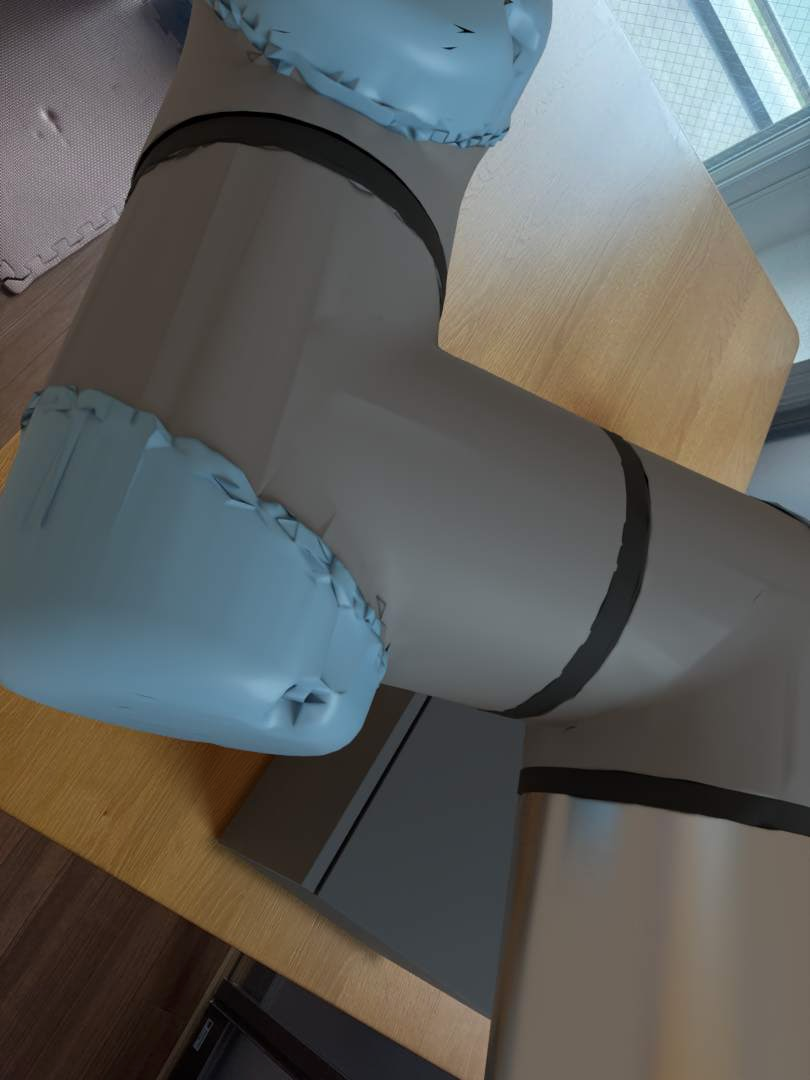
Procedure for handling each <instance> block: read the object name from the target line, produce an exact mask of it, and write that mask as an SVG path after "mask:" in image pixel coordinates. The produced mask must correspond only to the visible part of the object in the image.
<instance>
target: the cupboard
mask: <svg viewBox="0 0 810 1080" xmlns="http://www.w3.org/2000/svg"><path fill="white" fill-rule="evenodd" d="M525 724H526V723H525V722H522V721H519V720H515V719H512V718H508V717H503V716H500V715H497V714H493V713H489V712H485V711H481V710H478V709H476V708H473V707H469V706H466V705H462V704H458V703H455V702H451V701H447V700H444V699H440V698H436V697H433V696H429V695H428V696H427V698H426V700H425V702H424V703H423V705H422V707H421V708H420V710H419V712H418V714H417V715H416V717H415V719H414V720H413V722H412V724H411V726H410V727H409V729H408V731H407V732H406V734H405V736H404V738H403V739H402V741H401V743H400V744H399V746H398V748H397V750H396V751H395V753H394V755H393V756H392V758H391V760H390V762H389V763H388V765H387V767H386V768H385V770H384V772H383V774H382V775H381V777H380V779H379V780H378V782H377V784H376V786H375V787H374V789H373V791H372V793H371V794H370V796H369V798H368V799H367V801H366V803H365V805H364V806H363V808H362V810H361V811H360V813H359V815H358V817H357V818H356V820H355V822H354V823H353V825H352V827H351V829H350V830H349V832H348V834H347V835H346V837H345V839H344V841H343V842H342V844H341V846H340V847H339V849H338V851H337V853H336V854H335V856H334V858H333V859H332V861H331V863H330V865H329V866H328V868H327V870H326V871H325V873H324V875H323V877H322V878H321V880H320V882H319V883H318V885H317V887H316V889H315V890H314V892H313V893H312V892H310V891H308V890H306V889H304V888H302V887H300V886H298V885H296V884H294V883H292V882H290V881H288V880H286V879H284V878H283V877H281V876H279V875H277V874H275V873H273V872H271V871H269V870H267V869H265V868H263V867H261V866H259V865H257V864H255V863H254V862H252V861H250V860H248V859H246V858H244V857H242V856H240V855H238V854H236V853H234V852H232V851H230V850H228V851H229V852H230V853H231V854H233V855H235V856H236V857H238V858H239V859H240V860H242V861H244V862H245V863H246V864H247V865H249V866H250V867H252V868H253V869H255V870H256V871H258V872H259V873H261V874H262V875H263V876H265V877H267V878H268V879H269V880H270V881H272V882H273V883H275V884H277V885H278V886H279V887H281V888H282V889H284V891H287V893H289V894H291V895H292V896H294V897H295V898H297V899H298V900H300V901H301V902H302V903H304V904H305V905H307V907H310V908H311V909H312V910H314V911H315V912H317V913H318V914H319V915H322V916H323V917H324V918H325V919H327V920H328V921H330V922H331V923H332V924H334V925H336V926H337V927H339V929H341V930H342V931H344V932H346V933H347V934H349V935H350V936H352V937H353V938H354V939H356V940H357V941H358V942H360V943H361V944H363V945H364V946H366V947H367V948H368V949H370V950H372V951H373V952H375V953H376V954H378V955H380V956H381V957H383V958H385V959H386V960H388V961H390V962H392V963H393V964H395V965H396V966H398V967H399V968H402V969H403V970H405V971H407V972H408V973H410V974H412V975H413V976H414V977H417V978H418V979H420V980H422V981H423V982H425V983H426V984H429V986H432V987H433V988H435V989H437V990H438V991H440V992H442V993H444V994H445V995H446V996H449V997H450V998H452V999H454V1000H455V1001H457V1002H459V1003H461V1004H462V1005H463V1006H466V1007H467V1008H468V1009H471V1011H474V1012H475V1013H478V1014H480V1015H481V1016H483V1017H484V1018H485V1019H488V1020H489V1021H491V1016H492V1008H493V1000H494V992H495V983H496V975H497V967H498V959H499V951H500V942H501V934H502V926H503V918H504V910H505V901H506V893H507V885H508V877H509V868H510V860H511V852H512V844H513V836H514V827H515V819H516V811H517V803H518V794H517V790H518V782H519V775H520V770H521V769H522V761H523V740H524V734H525Z"/></svg>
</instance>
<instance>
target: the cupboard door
mask: <svg viewBox="0 0 810 1080" xmlns="http://www.w3.org/2000/svg"><path fill="white" fill-rule="evenodd" d="M427 696H428V695H425V694H422V693H418V692H414V691H411V690H407V689H403V688H398V687H394V686H390V685H385V684H381V683H380V684H379V687H378V688H377V689H376V692H375V694H374V697H373V700H372V702H371V705H370V708H369V711H368V713H367V716H366V719H365V721H364V724H363V726H362V728H361V730H360V731H359V733H358V734H357V735H356V736H355V737H354V738H353V740H352V741H351V742H350V743H349V744H347V745H346V746H344V747H343V748H341V749H339V750H337V751H334V752H331V753H328V754H325V755H319V756H287V755H277V754H275V755H274V757H273V759H272V761H270V763H269V765H268V766H267V768H266V769H265V770H264V772H263V773H262V775H261V777H260V778H259V779H258V781H257V782H256V784H255V785H254V787H253V788H252V790H251V791H250V793H249V794H248V796H247V798H246V799H245V800H244V802H243V803H242V805H241V807H240V808H239V809H238V811H237V813H236V814H235V815H234V816H233V818H232V820H231V822H230V823H229V824H228V826H227V828H226V829H224V832H223V833H222V834H221V836H220V838H219V839H218V841H217V843H218V844H219V845H220V846H221V847H223V848H225V849H226V850H228V851H229V850H230V851H232V852H234V853H236V854H238V855H240V856H242V857H244V858H246V859H248V860H250V861H252V862H254V863H255V864H257V865H259V866H261V867H263V868H265V869H267V870H269V871H271V872H273V873H275V874H277V875H279V876H281V877H283V878H284V879H286V880H288V881H290V882H292V883H294V884H296V885H298V886H300V887H302V888H304V889H306V890H308V891H310V892H312V893H313V892H314V890H315V889H316V887H317V885H318V883H319V882H320V880H321V878H322V877H323V875H324V873H325V871H326V870H327V868H328V866H329V865H330V863H331V861H332V859H333V858H334V856H335V854H336V853H337V851H338V849H339V847H340V846H341V844H342V842H343V841H344V839H345V837H346V835H347V834H348V832H349V830H350V829H351V827H352V825H353V823H354V822H355V820H356V818H357V817H358V815H359V813H360V811H361V810H362V808H363V806H364V805H365V803H366V801H367V799H368V798H369V796H370V794H371V793H372V791H373V789H374V787H375V786H376V784H377V782H378V780H379V779H380V777H381V775H382V774H383V772H384V770H385V768H386V767H387V765H388V763H389V762H390V760H391V758H392V756H393V755H394V753H395V751H396V750H397V748H398V746H399V744H400V743H401V741H402V739H403V738H404V736H405V734H406V732H407V731H408V729H409V727H410V726H411V724H412V722H413V720H414V719H415V717H416V715H417V714H418V712H419V710H420V708H421V707H422V705H423V703H424V702H425V700H426V698H427ZM230 851H229V852H230ZM232 852H231V853H232Z"/></svg>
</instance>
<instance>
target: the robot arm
mask: <svg viewBox="0 0 810 1080" xmlns="http://www.w3.org/2000/svg"><path fill="white" fill-rule="evenodd" d="M553 3H554V2H553V0H192V6H191V12H190V16H189V22H188V28H187V32H186V35H185V40H184V44H183V48H182V51H181V55H180V58H179V62H178V65H177V67H176V71H175V73H174V76H173V78H172V80H171V82H170V84H169V86H168V89H167V92H166V94H165V96H164V97H163V98H164V99H163V101H162V102H161V105H160V107H159V110H158V112H157V114H156V117H155V119H154V121H153V123H152V125H151V128H150V130H149V132H148V135H147V137H146V139H145V141H144V144H143V146H142V148H141V151H140V152H139V156H138V158H137V159H136V162H135V165H134V168H133V170H132V175H131V178H130V187H129V190H128V192H127V195H126V198H125V200H124V203H123V204H124V205H123V208H122V211H121V213H120V216H119V217H118V220H117V222H116V224H115V226H114V228H113V231H112V232H111V235H110V238H109V240H108V241H107V244H106V246H105V248H104V250H103V253H102V255H101V257H100V259H99V261H98V264H97V265H96V268H95V270H94V272H93V274H92V276H91V279H90V281H89V284H88V286H87V288H86V290H85V292H84V293H83V294H84V295H83V296H82V299H81V301H80V302H79V305H78V307H77V310H76V311H75V314H74V316H73V319H72V320H71V323H70V325H69V327H68V329H67V332H66V334H65V336H64V338H63V340H62V342H61V345H60V347H59V349H58V352H57V353H56V355H55V358H54V361H53V362H52V364H51V367H50V369H49V371H48V373H47V375H46V377H45V380H44V382H43V384H42V386H41V388H40V390H36V391H34V392H33V393H32V394H31V397H30V399H29V402H28V404H27V406H26V408H25V410H24V412H23V413H22V415H21V420H20V434H19V444H18V447H17V450H16V452H15V456H14V458H13V460H12V463H11V466H10V469H9V472H8V475H7V476H6V477H7V478H6V481H5V483H4V486H3V489H2V491H1V494H0V685H1V686H2V687H3V688H5V689H7V690H8V691H10V692H13V693H14V694H16V695H18V696H21V697H24V698H25V699H28V700H30V701H33V702H35V703H38V704H41V705H43V706H46V707H50V708H52V709H55V710H58V711H61V712H65V713H68V714H72V715H75V716H79V717H82V718H86V719H90V720H93V721H97V722H102V723H105V724H110V725H112V726H113V725H114V726H118V727H122V728H126V729H130V730H135V731H138V732H143V733H147V734H153V735H158V736H163V737H168V738H173V739H178V740H183V741H190V742H199V743H208V744H213V745H215V746H216V745H217V746H220V747H222V748H229V749H234V750H241V751H245V752H253V753H260V754H268V755H269V754H270V755H276V754H277V755H287V756H319V755H325V754H328V753H331V752H334V751H337V750H339V749H341V748H343V747H344V746H346V745H347V744H349V743H350V742H351V741H352V740H353V738H354V737H355V736H356V735H357V734H358V733H359V731H360V730H361V728H362V726H363V724H364V721H365V719H366V716H367V713H368V711H369V708H370V705H371V702H372V700H373V697H374V694H375V692H376V689H377V688H378V687H379V684H380V683H381V684H385V685H390V686H394V687H398V688H403V689H407V690H411V691H414V692H418V693H422V694H425V695H429V696H433V697H436V698H440V699H444V700H447V701H451V702H455V703H458V704H462V705H466V706H469V707H473V708H476V709H478V710H481V711H485V712H489V713H493V714H497V715H500V716H503V717H508V718H512V719H515V720H519V721H522V722H525V723H526V724H525V734H524V740H523V761H522V769H521V770H520V775H519V782H518V790H517V794H518V803H517V811H516V819H515V827H514V836H513V844H512V852H511V860H510V868H509V877H508V885H507V893H506V901H505V910H504V918H503V926H502V934H501V942H500V951H499V959H498V967H497V975H496V983H495V992H494V1000H493V1008H492V1016H491V1020H490V1024H489V1025H490V1026H489V1033H488V1034H489V1035H488V1043H487V1051H486V1059H485V1066H484V1073H483V1080H810V519H808V518H806V517H805V516H803V515H802V514H801V515H800V514H799V513H797V512H795V511H792V510H790V509H788V508H787V507H785V506H782V505H781V504H780V503H778V502H774V501H770V500H764V499H761V498H758V497H755V496H753V495H751V494H749V495H748V494H746V493H743V492H741V491H739V490H737V489H734V488H733V487H730V486H728V485H726V484H724V483H721V482H719V481H717V480H715V479H712V478H710V477H709V476H706V475H705V474H704V475H703V474H702V473H699V472H697V471H696V470H693V469H691V468H688V467H686V466H684V465H681V464H679V463H677V462H675V461H673V460H671V459H668V458H667V457H664V456H662V455H660V454H658V453H656V452H653V451H652V450H648V449H646V448H644V447H642V446H640V445H638V444H636V443H634V442H631V441H629V440H627V439H625V438H624V437H623V436H621V435H619V434H618V433H616V432H615V431H614V432H613V431H611V430H609V429H607V428H604V427H603V426H600V425H598V424H597V423H595V422H592V421H591V420H589V419H587V418H584V417H582V416H580V415H578V414H576V413H574V412H572V411H570V410H568V409H566V408H564V407H562V406H560V405H558V404H556V403H553V402H552V401H550V400H547V399H545V398H543V397H541V396H539V395H537V394H535V393H533V392H531V391H529V390H527V389H524V388H523V387H521V386H519V385H517V384H514V382H513V383H512V382H510V381H508V380H506V379H504V378H502V377H500V376H498V375H496V374H494V373H493V372H490V371H488V370H486V369H484V368H481V367H479V366H478V365H476V364H474V363H471V362H469V361H467V360H465V359H463V358H461V357H459V356H455V355H453V354H451V353H449V352H448V351H446V350H444V349H443V348H441V347H440V346H439V332H440V322H441V319H442V316H443V312H444V307H445V306H444V305H445V300H446V296H447V283H448V282H447V281H448V275H449V274H448V273H449V269H450V263H451V260H452V259H451V257H452V253H453V247H454V242H455V237H456V232H457V226H458V220H459V216H460V209H461V206H462V202H463V199H464V197H465V194H466V190H467V189H468V186H469V184H470V182H471V178H472V177H473V175H474V173H475V171H476V169H477V167H478V166H479V164H480V162H481V161H482V159H483V158H484V156H485V155H486V154H487V152H488V150H489V149H490V148H494V147H495V146H496V144H497V143H498V142H502V141H503V140H504V138H505V137H506V135H507V134H508V132H509V131H510V129H511V122H512V114H513V113H514V111H515V108H516V107H517V105H518V103H519V101H520V99H521V97H522V95H523V93H524V91H525V89H526V88H527V86H528V83H529V82H530V80H531V78H532V76H533V74H534V72H535V71H536V68H537V66H538V65H539V63H540V61H541V58H542V57H543V54H544V52H545V50H546V48H547V44H548V41H549V37H550V33H551V30H552V25H553V24H552V23H553V7H554V4H553Z"/></svg>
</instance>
